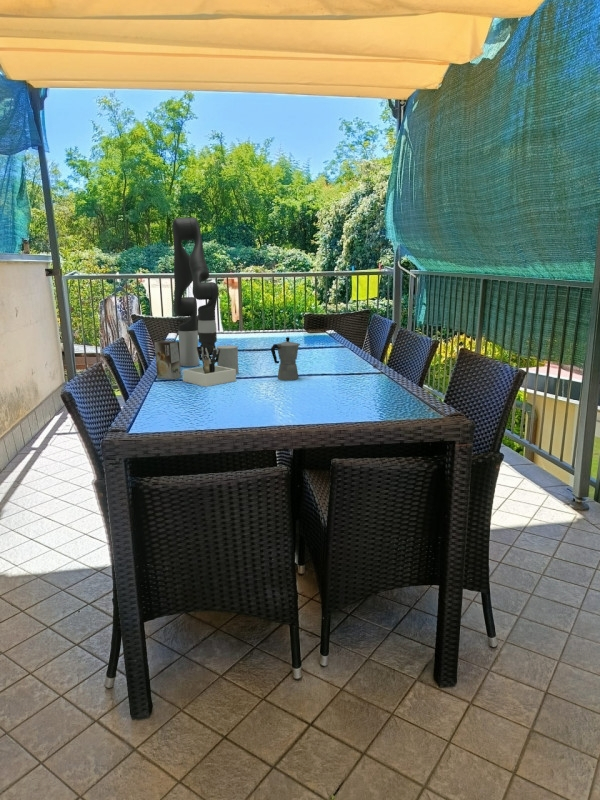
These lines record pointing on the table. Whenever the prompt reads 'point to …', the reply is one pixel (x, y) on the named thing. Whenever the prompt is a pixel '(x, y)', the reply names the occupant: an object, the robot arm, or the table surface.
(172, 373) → the coffee box
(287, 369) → the coffeepot
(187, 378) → the box
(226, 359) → the gray cylinder
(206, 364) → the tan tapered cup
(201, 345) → the robot arm
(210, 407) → the table surface
